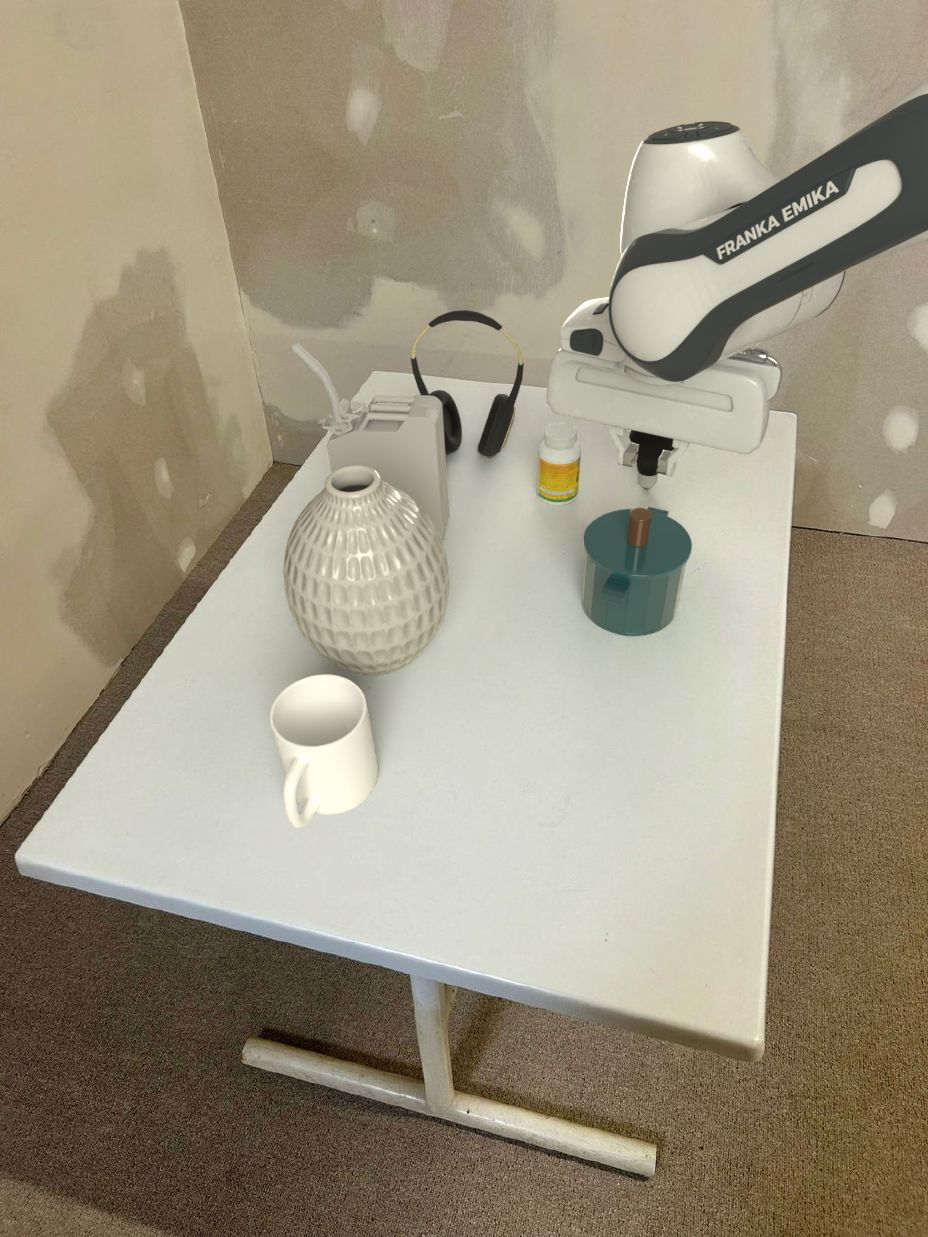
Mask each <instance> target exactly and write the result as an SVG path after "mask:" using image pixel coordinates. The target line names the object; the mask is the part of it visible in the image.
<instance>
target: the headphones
mask: <svg viewBox="0 0 928 1237" xmlns="http://www.w3.org/2000/svg"><path fill="white" fill-rule="evenodd" d="M452 321H453V322H454V321H459V322H473V323H479V324H482V325H486V326H488V327H491V328H493V329H495V330H496V331H499V332H500V333H502V334H503V335H504V336H505V337H506V338H507V339H508V341H510V343H511V344H512V346H513V348H514V349H515V352H516V354H517V357H518V363H517V369H516V376H515V378H514V383H513V386H512V388H511V390H510V392H509V395H507V394H505V393H498V394H496V395H495V396H494V399H493V400H492V403H491V407H490V409H489V412H488V415H487V417H486V418H487V419H486V421H485V424H484V427H483V430H482V432H481V436H480V439H479V442H478V445H477V452H478V453H479V454H480V455H481V456H483V457H485V458H492V457H493V456H494V457H495V456H496V455H497V454H498V453H499V454H500V453H501V452H502V450H503V449H504V448H505V445H506V444H507V442H508V439H509V436H510V433H511V430H512V427H513V424H514V421H515V417H516V408H515V404H516V401H517V399H518V396H519V393H520V389H521V386H522V382H523V377H524V366H525V363H524V359H523V355H522V352H521V349H520V347H519V345H518V343H517V342H516V340H515V339H514V338H513V336H512V335H511V334H510V333H509V332H508V331H507V330H506V329H505V328H504V327H503V325H502V324H500V323H499V322H498V321H497V320H495V319H494V318H492V317H490V316H488V315H486V314H484V313H481V312H479V311H474V310H468V309H463V310H460V309H459V310H452V311H449V312H446V313H443V314H440V315H438V316H437V317H435V318H434V319H432V320H431V321H430V322H428V324H427V325H426V326H425V327H424V328H423V329H422V330H421V331H420V333H419V334H418V335H417V336H416V338H415V340H414V342H413V345H412V347H411V355H410V363H411V370H412V374H413V378H414V381H415V384H416V387H417V389H418V393H419V395H428V396H435V397H437V398H438V399H439V400H440V401H441V403H442V409H443V425H444V441H445V455H449V454H454V453H455V452H457V451H458V450H459V448H460V447H461V445H462V440H463V427H462V419H461V416H460V413H459V409H458V407H457V403H456V402H455V399H454V398H453V397H452V395H451V394H450V393H449V392H448V391H446V390H442V389H438V390H433V391H432V392H430V393H429V391H428V388H427V386H426V384H425V381H424V380H423V377H422V375H421V371H420V369H419V365H418V364H419V363H418V359H417V356H416V350H417V347H418V343H419V342H420V340H421V338H422V337H423V336H424V335H425V333H426V332H428V330H430V329H431V328H434V327H436V326H439V325H441V324H443V323H447V322H452Z"/></svg>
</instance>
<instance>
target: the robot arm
mask: <svg viewBox="0 0 928 1237" xmlns="http://www.w3.org/2000/svg"><path fill="white" fill-rule="evenodd" d="M619 241H620V242H619V248H620V249H619V250H620V259H619V261H618V263H617V265H616V268H615V271H614V273H613V277H612V280H611V285H610V290H609V294H608V297H601V298H594V299H590V300H587V301H585V302H583V303H582V304H581V305H580V306H579V307H578V308H576V309H575V310H574V311H573V312H572V313H571V315H569V317H568V318H567V319H566V320H565V322H564V323H563V325H562V326H561V328H560V330H559V332H558V344H559V349H558V350H557V352H555V354H554V355H553V357H552V359H551V363H550V367H549V372H548V378H547V385H546V403H547V405H548V406H549V408H550V410H551V411H552V412H553V414H556V415H559V416H566V417H571V418H573V419H574V418H575V419H578V420H583V421H588V422H593V423H598V424H603V425H607V426H609V430H608V435H609V436H610V438H611V440H612V442H613V445H614V446H615V447H616V450H617V451H618V456H617V464H618V465H621V466H624V467H628V468H634V466H635V464H636V463H637V462H636V460H637V457H638V454H637V452H638V448H639V444H635V443H631V441H630V438H629V434H628V431H627V430H630V431H631V430H634V431H639V432H643V433H648V434H653V435H657V436H662V437H667V438H671V439H673V445H672V446H673V447H674V450H673V451H672V452H671V451H666V450H663V452H662V455H661V456H660V457H659V459H658V468H657V473H658V475H659V474H660V475H664V476H667V477H673V475H674V473H675V471H676V468H677V465H678V460H679V459H680V458H681V457H682V456H683V455H684V454H685V453H686V452H687V451H688V449H689V447H690V446H691V444H694V445H695V444H696V445H700V446H704V447H709V448H714V449H718V450H722V451H727V452H731V453H737V454H740V455H741V454H742V455H749V454H751V453H753V452H755V451H756V450H758V449H759V448H760V446H761V445H762V443H763V441H764V438H765V435H766V433H767V429H768V424H769V417H770V410H771V400H772V399H773V398H774V397H776V395H777V394H778V393H779V390H780V386H781V382H782V378H783V367H782V365H781V363H780V362H779V361H778V359H777V358H775V357H774V356H773V355H770V354H769V353H770V352H769V351H768V350H766V349H763V348H760V347H756V346H757V345H760V344H761V343H764V342H767V341H768V340H770V339H772V338H775V337H778V336H779V335H780V336H781V335H782V334H784V333H786V332H789V331H791V330H793V329H796V328H797V327H799V326H801V325H804V324H806V323H808V322H809V321H811V320H813V319H814V318H816V317H819V316H820V315H821V314H823V313H824V312H826V311H827V310H829V308H830V307H831V305H832V304H833V303H834V301H835V300H836V299H837V297H838V296H839V293H840V292H841V289H842V287H843V284H844V281H845V276H846V273H847V271H848V270H850V269H853V268H855V267H857V266H859V265H861V264H864V263H866V262H868V261H871V260H874V259H877V258H880V257H882V256H886V255H888V254H891V253H894V252H897V251H900V250H903V249H907V248H910V247H914V246H917V245H921V244H924V243H928V77H927V78H925V79H924V80H922V81H921V82H920V83H919V84H917V85H916V86H915V87H913V88H912V89H911V90H909V91H908V92H907V93H905V94H904V95H903V96H901V97H900V98H899V99H898V100H897V101H895V102H894V103H893V104H891V105H890V106H889V107H887V108H886V109H885V110H883V111H882V112H881V113H880V114H878V115H877V116H876V117H875V118H873V119H871V121H869V123H867V124H866V125H864V126H863V127H861V129H859V130H858V131H856V132H854V133H853V134H851V135H850V136H848V137H847V138H846V139H844V140H842V141H841V142H839V143H838V144H836V145H835V146H833V147H831V148H830V149H828V150H827V151H826V152H824V153H822V154H821V155H819V156H817V157H816V158H814V159H813V160H811V161H809V162H808V163H806V164H805V165H804V166H802V167H800V168H799V169H797V170H796V171H794V172H792V173H791V174H789V175H787V176H786V177H784V178H782V179H780V178H779V177H778V176H776V175H775V174H774V173H773V172H772V171H771V170H770V169H768V167H767V166H765V165H764V164H763V163H762V162H761V161H760V159H759V158H758V157H757V156H756V155H755V153H754V152H753V150H752V148H751V146H750V144H749V141H748V137H747V136H746V134H745V132H744V130H743V129H742V128H740V127H739V126H738V125H735V124H732V123H731V122H725V121H721V120H720V121H718V120H717V121H715V120H709V121H695V122H694V123H687V124H684V123H683V124H678V125H675V126H671V127H667V128H664V129H661V130H658V131H655V132H653V133H652V134H650V135H648V136H647V138H645V139H644V140H642V141H641V143H640V145H639V146H638V148H637V151H636V153H635V155H634V158H633V160H632V164H631V166H630V171H629V175H628V180H627V185H626V190H625V196H624V204H623V210H622V220H621V230H620V240H619Z"/></svg>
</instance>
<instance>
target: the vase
mask: <svg viewBox="0 0 928 1237" xmlns="http://www.w3.org/2000/svg"><path fill="white" fill-rule="evenodd" d="M282 574H283V586H284V594H285V597H286V602H287V605H288V609H289V611H290V613H291V616H292V618H293V620H294V622H295V624H296V627H297V629H298V630H299V631H300V634H302V636H303V637H304V638H305V640H306V641H307V642H308V644H309V645H310V646H311V647H312V648H313V649H314V651H316V652H317V653H318V654H319V655H321V656H322V657H324V658H325V659H327V660H328V661H329V662H331V663H333V664H334V665H336V666H338V667H340V668H342V669H344V670H346V671H349V672H351V673H354V674H357V675H358V674H359V675H367V676H378V675H380V676H381V675H386V674H389V673H392V672H396V671H398V670H400V669H402V668H405V667H406V666H408V665H409V664H410V663H412V662H413V661H414V660H415V659H416V658H417V657H419V656H420V655H421V654H423V652H424V651H425V650H426V648H428V646H429V645H430V644H431V642H432V641H433V639H434V638H435V636H436V635H437V633H438V631H439V630H440V627H441V625H442V623H443V619H444V618H445V614H446V611H447V609H448V602H449V596H450V587H451V581H450V568H449V561H448V555H447V551H446V547H445V545H444V542H443V540H442V539H441V537H440V535H439V532H438V530H437V528H436V527H435V525H434V524H433V522H432V521H431V519H430V518H429V516H428V514H427V513H426V512H425V511H424V510H423V509H422V507H421V506H420V505H419V504H418V503H417V502H416V501H415V500H413V499H412V498H411V497H410V496H408V495H407V494H406V493H404V492H403V491H401V490H399V489H397V488H396V487H394V486H392V485H390V484H388V483H386V482H384V481H382V480H381V478H380V475H379V473H378V472H377V471H376V470H374V469H372V468H370V467H367V466H363V465H350V466H345V467H342V468H339V469H337V470H335V471H334V472H332V471H331V473H330V474H329V475H328V476H327V477H326V479H325V482H324V488H323V489H322V490H321V491H319V492H318V494H316V495H314V497H313V498H312V499H311V500H310V501H309V502H308V503H307V504H306V506H305V507H303V509H302V511H301V512H300V513H299V515H298V517H297V518H296V519H295V522H294V523H293V526H292V528H291V530H290V533H289V535H288V539H287V542H286V545H285V550H284V558H283V566H282Z"/></svg>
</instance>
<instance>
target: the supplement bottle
mask: <svg viewBox="0 0 928 1237" xmlns="http://www.w3.org/2000/svg"><path fill="white" fill-rule="evenodd" d="M577 440H578V431H577V428H576V427H575V426H574V425H573V424H571V423H568V422H560V421H559V422H552V423H550V424H548V425H547V426H545V428H544V430H543V440H542V441H541V443H540V444H539V445H538V448H537V465H536V466H537V469H536V494H537V495H536V496H537V498H538V499H539V500H540V501H542V502H543V503H545V504H546V505H550V506H553V507H554V506H556V507H559V506H560V507H561V506H565V505H569V504H571V503H573V502H574V501H575V500H576V499H577V497H578V495H579V486H580V485H579V484H580V472H581V471H580V469H581V456H582V455H581V454H582V449H581V446H580V444H579V442H578V441H577Z"/></svg>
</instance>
